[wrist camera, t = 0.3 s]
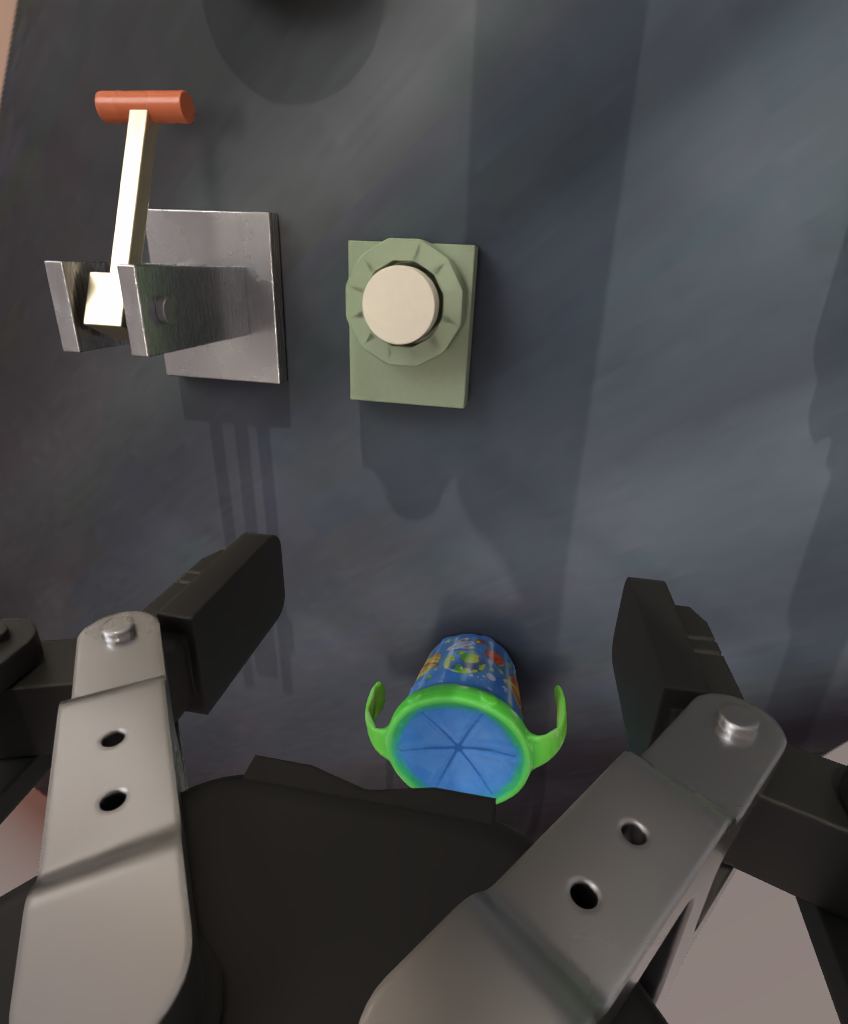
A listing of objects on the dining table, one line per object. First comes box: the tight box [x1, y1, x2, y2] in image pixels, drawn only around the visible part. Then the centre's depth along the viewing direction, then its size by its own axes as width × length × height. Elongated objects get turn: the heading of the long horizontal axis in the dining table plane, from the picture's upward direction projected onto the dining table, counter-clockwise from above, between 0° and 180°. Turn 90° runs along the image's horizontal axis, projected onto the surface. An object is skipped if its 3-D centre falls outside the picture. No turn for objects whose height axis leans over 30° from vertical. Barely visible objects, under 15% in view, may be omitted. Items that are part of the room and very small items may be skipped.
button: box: [362, 265, 439, 345], centre depth 33 cm, size 4×4×2 cm
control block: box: [346, 238, 478, 409], centre depth 36 cm, size 10×8×4 cm
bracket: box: [44, 209, 287, 384], centre depth 34 cm, size 11×9×13 cm
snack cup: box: [365, 633, 567, 804], centre depth 44 cm, size 16×10×10 cm
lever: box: [84, 90, 195, 341], centre depth 30 cm, size 13×5×2 cm
